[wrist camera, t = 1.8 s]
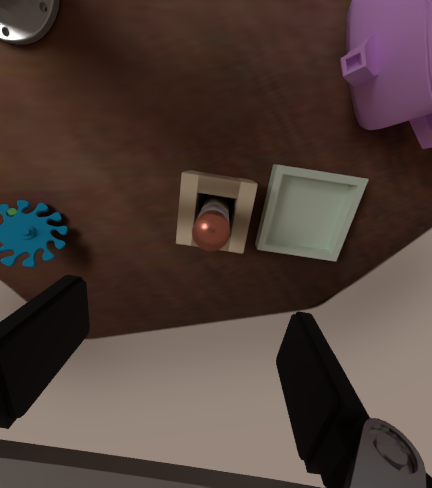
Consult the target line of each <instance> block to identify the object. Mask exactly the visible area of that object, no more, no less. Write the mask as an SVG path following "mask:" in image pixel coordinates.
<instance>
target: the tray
mask: <svg viewBox="0 0 432 488" xmlns="http://www.w3.org/2000/svg"><path fill="white" fill-rule="evenodd" d="M368 180H369V179H365V178H359V177H353V176H346V175H340V174H334V173H327V172H321V171H315V170H308V169H302V168H296V167H289V166H283V165H276V164H273V168H272V172H271V177H270V181H269V185H268V190H267V194H266V198H265V203H264V207H263V211H262V216H261V220H260V224H259V229H258V233H257V237H256V242H255V245H256V247H257V250H263V251H270V252H277V253H283V254H290V255H296V256H303V257H309V258H316V259H323V260H329V261H337V258H338V256H339V253H340V251H341V248H342V246H343V243H344V241H345V238H346V235H347V233H348V230H349V228H350V225H351V223H352V220H353V218H354V215H355V213H356V210H357V208H358V205H359V203H360V200H361V197H362V195H363V192H364V190H365V187H366V185H367V182H368Z"/></svg>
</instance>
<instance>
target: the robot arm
mask: <svg viewBox="0 0 432 488" xmlns="http://www.w3.org/2000/svg"><path fill="white" fill-rule="evenodd" d="M59 2H60V0H0V40H2V41H4V42H6V43H11V44H15V45H27V44H30V43H34V42H36V41H38V40H39V39H41V38H42V37H44V35H45V34H46V33H47V32H48V31H49V30H50V28H51V27H52V25H53V23H54V21H55V19H56V15H57V12H58V9H59ZM89 329H90V325H89V312H88V299H87V286H86V282H85V281H83V278H82V277H79V276H72V275H66V276H64V277H62V278H61V279H60V280H58V281H57V282H56V283H54V284H53V285H51V286H50V287H49V288H47V289H46V290H44V291H43V292H42V293H40V294H39V295H37V296H36V297H35V298H33V299H32V300H30V301H29V302H28V303H26V304H25V305H23V306H22V307H21V308H19V309H18V310H16V311H15V312H14V313H12V314H11V315H9V316H8V317H7V318H5V319H4V320H2V321H1V322H0V428H6V429H9V428H10V426H11V425H12V424H13V422H14V421H15V420H16V419H17V418H20V417H22V416H23V415H24V414H25V413H26V412H27V410H28V409H29V408H30V407H31V405H32V404H33V403H34V402H35V401H36V399H37V398H38V397H39V396H40V394H41V393H42V392H43V390H44V389H45V388H46V387H47V385H48V384H49V383H50V382H51V380H52V379H53V378H54V376H55V375H56V374H57V373H58V372H59V370H60V369H61V368H62V367H63V365H64V364H65V363H66V362H67V360H68V359H69V358H70V356H71V355H72V354H73V353H74V351H75V350H76V349H77V348H78V346H79V345H80V344H81V343H82V341H83V340H84V339H85V338H86V336H87V335H88V333H89ZM276 365H277V369H278V373H279V377H280V381H281V385H282V390H283V394H284V398H285V402H286V406H287V410H288V414H289V418H290V422H291V426H292V430H293V434H294V438H295V442H296V446H297V450H298V454H299V457H300V458H301V460H304V462H305V465H306V470H307V472H308V473H313V474H320V475H321V478H322V481H323V484H324V486H325V488H432V477H430V476H429V475H428V474H427V473H426V471H425V467H424V463H423V460H422V459H421V456H420V454H419V453H418V451H417V450H416V448H415V447H414V445H413V444H412V443H411V442H410V441H409V440H408V439H407V438H406V437H405V435H404V434H403V433H401V432H400V431H399V430H398V429H396V428H395V427H394V426H392V425H391V424H389V423H387V422H386V421H383V420H380V419H376V418H370V417H369V415H368V414H367V412H366V410H365V408H364V407H363V405H362V403H361V401H360V399H359V398H358V396H357V394H356V393H355V390H354V388H353V387H352V385H351V384H350V381H349V380H348V378H347V376H346V374H345V372H344V371H343V369H342V367H341V365H340V363H339V362H338V360H337V358H336V356H335V354H334V353H333V351H332V350H331V348H330V346H329V344H328V343H327V341H326V339H325V337H324V335H323V334H322V332H321V330H320V328H319V326H318V325H317V323H316V321H315V319H314V318H313V316H312V315H311V314H310V313H304V312H297V313H296V314H293V315H292V316H291V319H290V321H289V324H288V327H287V330H286V333H285V335H284V338H283V341H282V344H281V347H280V349H279V352H278V355H277V359H276ZM0 488H320V487H315V486H309V485H303V484H297V483H291V482H286V481H280V480H274V479H268V478H262V477H255V476H249V475H242V474H235V473H229V472H222V471H216V470H209V469H203V468H196V467H190V466H183V465H175V464H169V463H162V462H155V461H148V460H142V459H135V458H127V457H121V456H114V455H107V454H101V453H94V452H87V451H79V450H72V449H65V448H58V447H50V446H44V445H36V444H29V443H21V442H15V441H7V440H0Z"/></svg>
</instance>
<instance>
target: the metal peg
mask: <svg viewBox="0 0 432 488" xmlns="http://www.w3.org/2000/svg"><path fill="white" fill-rule="evenodd" d="M192 237H193V240H194V242H195V243H196V244H197V246H199V247H200V248H201V249H204V250H207V251H216V250H219V249H221V248H223V247H224V246H225V245H226V244H227V242H228V240H229V237H230V226H229V209H228V202H227V200H226V198H225V197H223V196H217V195H210V196H209V197H208V198H207V199H206V201H205V203H204V205H203V207H202V209H201V211H200V213H199V215H198V217H197V219H196V221H195V223H194V225H193V228H192Z"/></svg>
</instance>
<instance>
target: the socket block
mask: <svg viewBox="0 0 432 488" xmlns="http://www.w3.org/2000/svg"><path fill="white" fill-rule="evenodd" d="M257 186H258V184H257V183H255V182H254V181H253V180H249V179H243V178H236V177H230V176H224V175H217V174H211V173H204V172H198V171H192V170H189V171H185V172H182V176H181V188H180V200H179V212H178V224H177V237H176V243H177V244H183V245H190V246H196V247H199V246H197V244H196V243H195V242H194V240H193V237H192V228H193V225H194V223H195V221H196V219H197V217H198V215H199V207H200V199H201V193H204V194H210V195H217V196H223V197H230V198H235V199H234V204H233V210H232V215H231V221H230V224H229V226H230V237H229V240H228V242H227V244H226V245H225V246H224V247H223V248H221V249H219V250H223V251H229V252H236V253H243V252H244V247H245V242H246V238H247V233H248V228H249V223H250V219H251V214H252V209H253V205H254V200H255V195H256V190H257Z"/></svg>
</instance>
